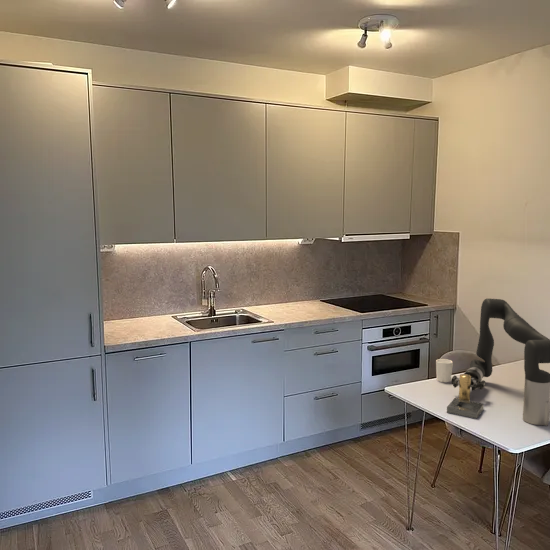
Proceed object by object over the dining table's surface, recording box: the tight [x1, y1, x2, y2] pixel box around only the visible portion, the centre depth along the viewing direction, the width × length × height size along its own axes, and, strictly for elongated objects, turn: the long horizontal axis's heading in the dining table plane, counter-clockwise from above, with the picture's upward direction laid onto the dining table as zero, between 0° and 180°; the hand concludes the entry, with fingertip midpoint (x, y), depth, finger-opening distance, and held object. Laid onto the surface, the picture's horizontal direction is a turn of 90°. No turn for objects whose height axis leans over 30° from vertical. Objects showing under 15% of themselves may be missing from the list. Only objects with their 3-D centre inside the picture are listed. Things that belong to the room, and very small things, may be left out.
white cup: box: [435, 358, 453, 383], centre depth 250 cm, size 8×8×10 cm
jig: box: [446, 398, 485, 420], centre depth 211 cm, size 12×12×2 cm
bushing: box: [458, 373, 471, 401], centre depth 221 cm, size 5×5×12 cm
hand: (463, 387), depth 219 cm, fingers open, 7 cm apart
